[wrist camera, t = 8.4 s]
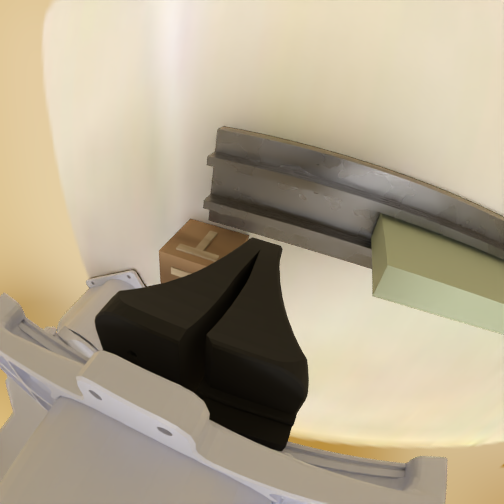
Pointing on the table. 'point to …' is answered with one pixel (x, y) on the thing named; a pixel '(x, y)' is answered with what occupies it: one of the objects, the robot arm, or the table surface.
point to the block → (196, 249)
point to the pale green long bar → (437, 274)
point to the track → (331, 198)
